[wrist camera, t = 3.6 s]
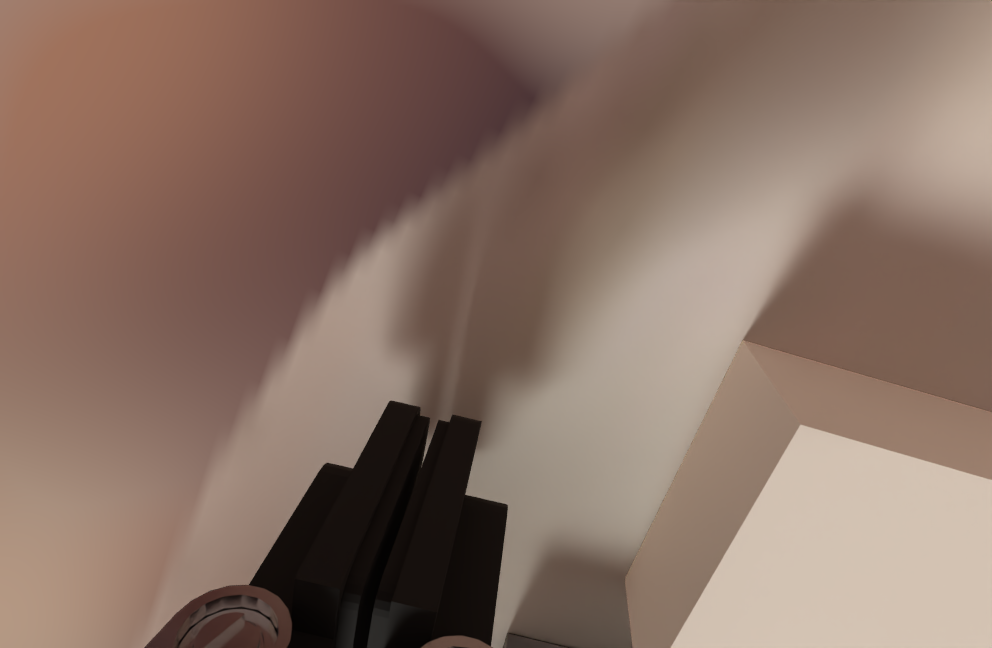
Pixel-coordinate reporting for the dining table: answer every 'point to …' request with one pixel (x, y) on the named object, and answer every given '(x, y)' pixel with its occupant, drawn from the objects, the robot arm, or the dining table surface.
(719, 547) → the cream square tile
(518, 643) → the tray
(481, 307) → the dining table surface
